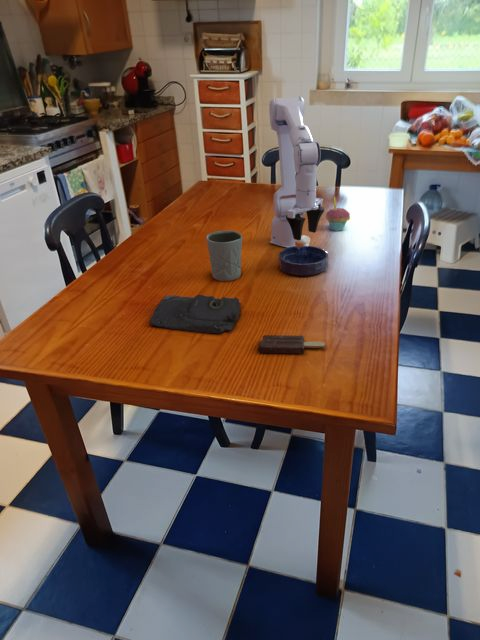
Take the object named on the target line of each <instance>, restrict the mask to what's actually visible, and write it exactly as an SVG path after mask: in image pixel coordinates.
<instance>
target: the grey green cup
mask: <svg viewBox="0 0 480 640" xmlns="http://www.w3.org/2000/svg"><path fill="white" fill-rule="evenodd" d="M205 238H206V244H207V250H208V253H209V262H210V266H211V267H210V268H211V269H210V270H211V275H212V278H213V279H214V280H217V281H218V282H219V281H220V282H230V281H235V280H237V279H239V278H240V277H241V275H242V250H243V249H242V248H243V247H242V246H243V235H242V233H240V232H238V231H235V230H218V231H213V232H210V233H209V234H207V235H206V237H205Z"/></svg>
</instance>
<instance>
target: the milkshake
mask: <svg viewBox="0 0 480 640" xmlns="http://www.w3.org/2000/svg"><path fill="white" fill-rule="evenodd" d="M309 246H311V237H309V236H308V235H304V234H302V236H301V240H295V248H296V263H297V264H308V254H309Z"/></svg>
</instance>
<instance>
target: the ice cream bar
mask: <svg viewBox="0 0 480 640" xmlns="http://www.w3.org/2000/svg"><path fill="white" fill-rule="evenodd" d="M325 347H326V342H324V341H305V338H304V335H287V334H284V335H283V334H280V335H279V334H264V335H262V340H259V341H258V351H259V353H262V354H296V355H297V354H298V355H299V354H300V355H303V354H304V351H305V348H319V349H321V348H325Z"/></svg>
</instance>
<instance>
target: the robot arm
mask: <svg viewBox="0 0 480 640" xmlns="http://www.w3.org/2000/svg"><path fill="white" fill-rule="evenodd" d="M305 105H306V104H305V100H304V98H303V96H295V97H275V98H274V97H272V98H271V99H270V100H269V106H268V107H269V110H268V113H269V123H270V124H269V125H270V128H271V130H273V131H275V132H276V137H277V143H278V156H279V157H278V159H279V170H280V171H279V172H280V185H281V186H280V188H279V189H277V190H276V191H275V192H274V194H273V213H274V216H273V217H272V220H271V224H270V227H271V228H270V229H271V230H270V233H271V241H269V244H272V245H275V246H278V247H279V246H280V247H283V248H288V247H292V246H295V240H301V236H302V235H303V227H304V223H305V221H306V217H307V229H308V233H309V232H310V233H312V234H315V233H316V232H317V230H318V225H319V222H320V219H321V217H322V215H323V214H324V212H325V208H324V207H323V203H324V202H323V201H324V199H323V198H321V197H317V178H318V166H317V165H320V163H321V157H322V156H321V155H322V153H321V152H322V151H321V146H320V143H319V142H318V141H316V140H314V139H313V137H312V134H311V132H310V129H309V127H308V126H307V125H305V124H304V122H303V118H304V117H305V110H306V108H305ZM305 214H306V217H303V216H305Z"/></svg>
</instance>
